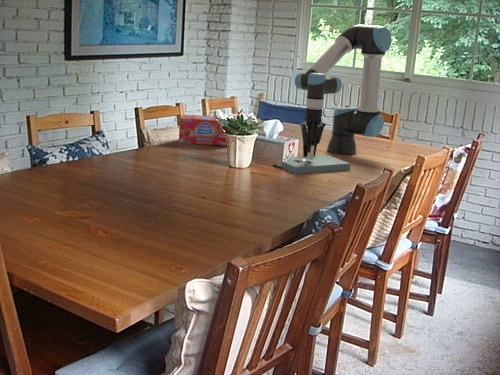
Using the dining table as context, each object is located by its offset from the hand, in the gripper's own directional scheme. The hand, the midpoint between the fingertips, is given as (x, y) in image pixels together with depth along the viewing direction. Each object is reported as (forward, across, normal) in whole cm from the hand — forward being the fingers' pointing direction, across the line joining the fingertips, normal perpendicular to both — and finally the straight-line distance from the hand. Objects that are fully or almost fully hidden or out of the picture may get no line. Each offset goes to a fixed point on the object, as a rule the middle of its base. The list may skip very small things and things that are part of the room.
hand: (310, 159), depth 294 cm
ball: (+2, +4, 0) cm, 4 cm away
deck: (+4, -2, 0) cm, 4 cm away
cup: (+4, -11, -17) cm, 21 cm away
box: (+4, +23, -62) cm, 66 cm away
